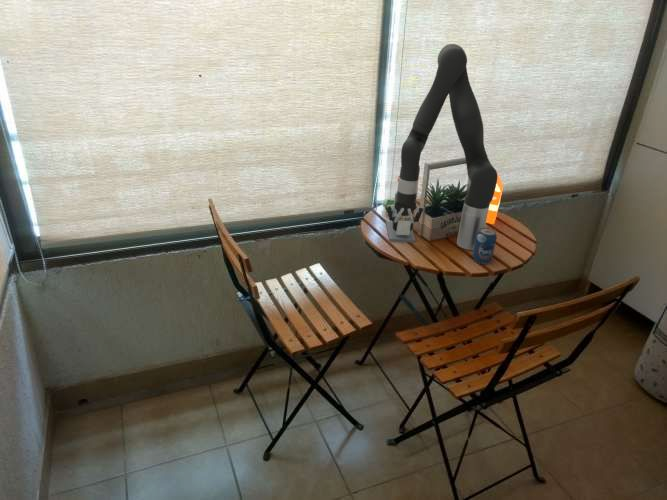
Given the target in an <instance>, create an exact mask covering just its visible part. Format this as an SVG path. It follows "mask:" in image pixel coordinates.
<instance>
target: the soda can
mask: <svg viewBox="0 0 667 500" xmlns="http://www.w3.org/2000/svg"><path fill="white" fill-rule="evenodd" d="M497 236H498V235H497V231H496V230H495V229H493V228H490V227H487V228H481V229H480V231H479V232H478V233H477V237H476V242H475V247H474V250H472V251H473V252H472V259H473V260H474V262H476V263H477V262H478V264H480V263H481V264H480V265H487V263H488V264H489V263H490V262H491V261H492V260H493V256H494V251H495V247H496V243H497V238H498V237H497Z"/></svg>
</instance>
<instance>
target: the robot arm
mask: <svg viewBox="0 0 667 500" xmlns="http://www.w3.org/2000/svg"><path fill="white" fill-rule="evenodd" d="M437 55H438V56H437V69H436V72H435V76H434V80H433V83H432V85H431V87H430V89H429V91H428V93H427V94H426V96H425V97H424V99H423V100H422V101H423V102H422V103H421V104H420V107H419V108H418V112H417V113H416V114H415V118H414V120H413V123H412V128H411V130H410V131H409V134H408V136H407V138H406V139H405V141H404V142H403V144H402V146H401V152H400V153H401V154H400V155H401V156H400V163H401V164H400V165H401V166H400V171H399V176H400V178H399V182H398V181H397V182H398V183H397V189H396V193H397V197H396V202H395V204H394V205H390V204H388V205H387V208H388V219H389V220H388V221H393V230H394V231H396V229H397V220H398V219H399V218H400V216H401V215H406V216H409V218H410V220H411V226H410V232H411V230H413V229H414V223H419V221H420V219H421V217H422V214H423V211H424V208H423V206H422V205H417V197H418V191H419V179H420V178H419V177H420V173H421V172H420V170H421V168H420V167H421V166H420V160H421V155H422V154H421V153H422V152H423V150H424V149H425V146H426V144H427V141H428V139H429V136H430V133H431V132H432V130H433V128H434V127H435V125H436V122H437V120H438V118H439V115H440V113H441V111H442V109H443V106H444V104H445V102H446V100H447V97H448V98H449V105H450V109H451V111H450V112H451V115H452V120H453V123H454V127H455V131H456V133H457V137H458V140H459V143H460V145H461V147H462V150H463V153H464V157H465V164H466V170H467V171H466V172H467V177H468V179H469V180H470V186H469V190H468V192H467V194H466V195H465V196H464V201H463V206H462V211H461V216H460V217H461V218H460V223H459V228H458V229H459V230H458V233H457V240H456V244H457V246H458V247H460V248H461V249H464V250H468V251H469V250H470V251H474V247H475V242H476V237H477V233H478V232H479V231H480V229H481V228H488V226H487V223H486V220H487V215H488V210H489V206H490V202H491V201H492V199H493V196H494V192H495V188H496V184H497V178H498V175H499V174H498V175H497V173H498V172H497V170H496V169H495V167H494V166H493V165H492V164H491V162H490V159H489V157H488V154H487V151H486V148H485V142H484V137H485V136H484V135H485V134H484V133H485V132H484V130H485V129H484V123H483V119H482V113H481V109H480V107H479V104H478V101H477V99H476V96H475V93H474V91H473V89H472V87H471V83H470V80H469V75H468V74H469V73H468V68H467V64H468V57H467V54H466V52H465V50H464V48H463V47H462V46H460V45H459V44H455V43H448V44H446V45H444V46H443V47H442V48H441V49H440V51H439V53H438V54H437ZM393 208H395V209H396V210H397V211H396V213H395V216H394V217H392V216H393V215H392V212H391V211H393ZM414 211H416V214H415V216H414V217H413V212H414Z"/></svg>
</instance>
